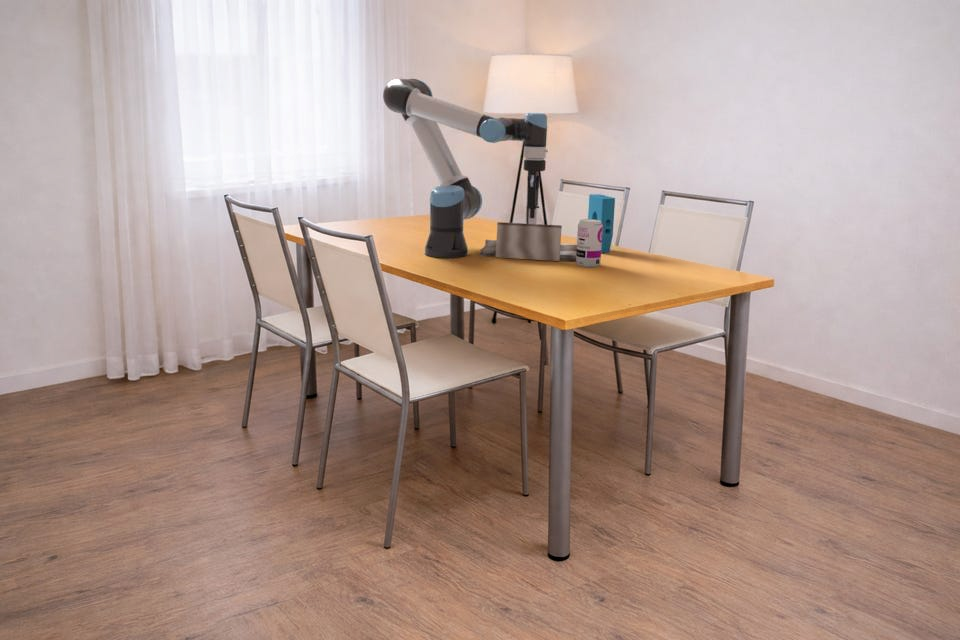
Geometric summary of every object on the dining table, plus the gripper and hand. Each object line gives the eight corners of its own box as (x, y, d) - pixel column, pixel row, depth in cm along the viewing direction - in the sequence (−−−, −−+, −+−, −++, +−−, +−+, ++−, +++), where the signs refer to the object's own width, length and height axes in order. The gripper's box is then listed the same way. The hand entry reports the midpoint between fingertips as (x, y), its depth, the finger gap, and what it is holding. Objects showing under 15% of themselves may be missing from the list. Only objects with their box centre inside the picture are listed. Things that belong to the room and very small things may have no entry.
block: (612, 253, 313) (616, 198, 308) (600, 254, 311) (603, 198, 306) (597, 247, 324) (600, 194, 318) (585, 248, 322) (588, 194, 317)
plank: (497, 222, 297) (498, 222, 298) (495, 257, 299) (496, 256, 300) (561, 225, 293) (561, 225, 295) (559, 260, 295) (559, 260, 296)
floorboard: (479, 256, 302) (480, 244, 301) (485, 250, 312) (486, 239, 311) (583, 262, 296) (583, 250, 294) (585, 256, 306) (586, 245, 305)
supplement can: (602, 263, 294) (605, 220, 290) (597, 268, 286) (600, 223, 282) (578, 261, 296) (581, 218, 292) (573, 266, 289) (575, 221, 285)
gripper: (543, 160, 291) (540, 230, 297) (547, 158, 303) (545, 224, 309) (521, 160, 292) (518, 229, 298) (526, 157, 304) (524, 223, 310)
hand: (532, 226), depth 304 cm, fingers closed
